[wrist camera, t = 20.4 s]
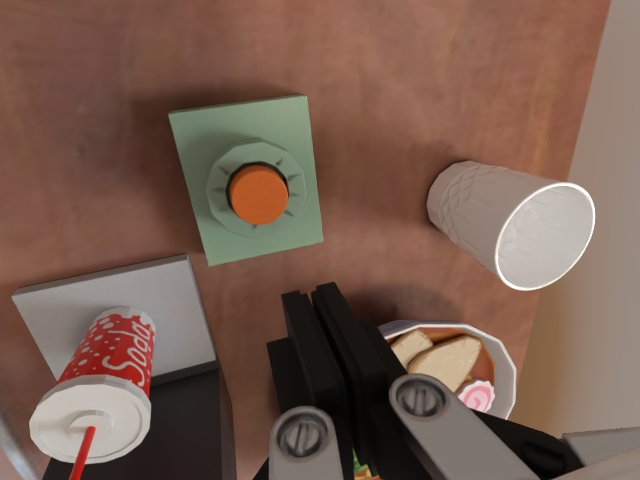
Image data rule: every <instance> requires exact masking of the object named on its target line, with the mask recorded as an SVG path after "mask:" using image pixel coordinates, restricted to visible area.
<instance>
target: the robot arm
mask: <svg viewBox="0 0 640 480" xmlns="http://www.w3.org/2000/svg"><path fill="white" fill-rule="evenodd" d="M281 297H282V303H283V309H284V314H285V320H286V325H287V331H288V337H286V338H283V339H279V340H275V341H271V342H267V343H266V344H267V349H268V354H269V359H270V364H271V368H272V373H273V378H274V383H275V387H276V392H277V397H278V402H279V407H280V411H281V416H280V417H279V418H278V419H277V420H276V421H275V423H274V425H273V427H272V429H271V432H270V438H269V457H268V458H267V460H266V461H265V463H264V464H263V465H262V467H261V468H260V470H259V471H258V473H257V474H256V475H255V477H254V478H253V480H355V478H354V469H355V464H354V454H353V450H354V452H355V455H356V457H357V460H358V462H359V465H360V466H364V465H367V466H368V468H369V471H370V473H371V476H372V477H375V476H378V475H379V477H380V479H383V480H640V427H631V428H620V429H608V430H597V431H586V432H575V433H564V434H563V435H562V439H557V438H555V437H553V436H551V435H549V434H547V433H544V432H542V431H538V430H535V429H532V428H529V427H526V426H523V425H520V424H517V423H514V422H511V421H508V420H505V419H502V418H499V417H496V416H493V415H490V414H487V413H484V412H481V411H478V410H475V409H472V408H469V407H467V406H466V405H465V404H464V403H463V402H462V401H461V400H460V399H459V398H458V397H457V396H456V395H455V394H454V393H453V392H452V391H451V390H450V389H449V388H448V387H447V386H446V385H445V384H444V383H443V382H441V381H440V380H439V379H437V378H435V377H433V376H430V375H427V374H422V373H410V374H408V372H407V371H406V369H405V368H404V366H403V365H402V363H401V362H400V360H399V359H398V357H397V356H396V354H395V353H394V351H393V350H392V348H391V347H390V345H389V344H388V342H387V341H386V339H385V338H384V336H383V335H382V333H381V332H380V330H379V329H378V327H377V326H376V324H375V323H374V321H373V320H372V319H371V317H369V316H367V317H363V318H360V319H356V317H355V315H354V314H353V312H352V310H351V309H350V307H349V305H348V304H347V302H346V300H345V299H344V297H343V295H342V294H341V292H340V290H339V289H338V287H337V285H336V284H335V282H331V283H327V284H322V285H318V286H317V291H313V292H311V297H312V304H313V307H312V304H311V302H310V300H309V298H308V295H307V293H305V294H300V292H299V290H297V291H293V292H289V293H284V294H281Z"/></svg>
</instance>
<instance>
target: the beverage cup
mask: <svg viewBox="0 0 640 480" xmlns="http://www.w3.org/2000/svg"><path fill="white" fill-rule="evenodd" d="M155 328H156V327H155V325H154V323H153V321H152V319H151V317H149V316H148V315H147V314H146V313H144V312H143V311H141V310H138V309H135V308H132V307H115V308H112V309H108V310H105V311H104V312H103V313H101V314H100V315H99V316H97V317H96V318H95V320H94V322H93V323H92V325H91V327H90V328H89V330H88V332H87V333H86V335H85V337H84V338H83V340H82V342H81V343H80V345H79V347H78V348H77V350H76V352H75V353H74V355H73V357H72V358H71V360H70V362H69V363H68V365H67V367H66V368H65V370H64V371H63V373H62V375H61V376H60V378H59V380H58V381H57V383H56V385H55V386H54V388H53V389H51V390H50V391H49V392H47V393H46V394H45V395H44V396H43V398H42V400H41V401H40V402H39V404H38V406H37V408H36V410H35V412H34V414H33V416H32V418H31V420H30V422H29V426H30V434H31V439H32V440H33V442H34V443H35V444H36V445H37V446H38V448H39V449H40V450H41V451H42V452H43V453H45V454H47V455H49V456H51V457H53V458H55V459H57V460H59V461H63V462H70V463H75V464H74V466H73V469H72V472H71V475H70V478H69V480H80V477H81V474H82V471H83V468H84V465H85V464H92V463H102V462H107V461H110V460H113V459H115V458H118V457H121V456H123V455H126V454H127V453H128V452H130V451H131V450H133V449H134V448H135V447H137V446H138V445H139V444H141V442H142V440H143V439H144V437H145V436H146V434H147V432H148V431H149V428H150V419H151V403H150V401H149V390H150V381H151V371H152V362H153V352H154V343H155Z"/></svg>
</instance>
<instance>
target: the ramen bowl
mask: <svg viewBox="0 0 640 480" xmlns="http://www.w3.org/2000/svg"><path fill="white" fill-rule="evenodd" d="M378 329H379V330H380V332H381V333H382V335H383V336H384V338H385V339H386V341H387V342H388V344H389V345H390V347H391V348H392V350H393V351H394V353H395V354H396V356H397V357H398V359H399V360H400V362H401V363H402V365H403V366H404V368H405V369H406V371H407V372H408V374H410V373H422V374H427V375H430V376H433V377H435V378H437V379H439V380H440V381H441V382H443V383H444V384H445V385H446V386H447V387H448V388H449V389H450V390H451V391H452V392H453V393H454V394H455V395H456V396H457V397H458V398H459V399H460V400H461V401H462V402H463V403H464V404H465V405H466V406H467V407H469V408H472V409H475V410H478V411H481V412H484V413H487V414H490V415H493V416H496V417H499V418H502V419H505V420H507V418H508V416H509V414H510V412H511V410H512V408H513V406H514V404H515V394H516V367H515V366H514V364H513V362H512V360H511V358H510V356H509V355H508V353H507V351H506V349H505V347H504V345H503V344H502V342H501V341H500V340H498V339H496V338H494V337H492V336H490V335H488V334H486V333H484V332H482V331H480V330H477V329H475V328H473V327H471V326H469V325H467V324H463V323H459V322H455V321H447V320H396V321H392V322H389V323H387V324H384V325H381V326H378ZM353 454H354V464H355V469H354V478H355V480H383V479H380V477H379V475H378V476H375V477H372V476H371V473H370V471H369V468H368V466H367V465H364V466H360V465H359V462H358V460H357V457H356V455H355V452H354V450H353Z"/></svg>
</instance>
